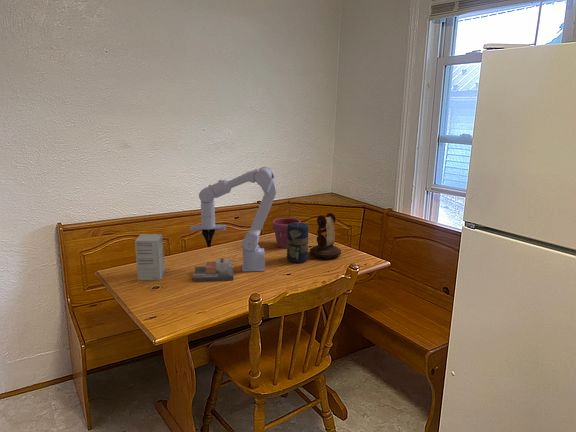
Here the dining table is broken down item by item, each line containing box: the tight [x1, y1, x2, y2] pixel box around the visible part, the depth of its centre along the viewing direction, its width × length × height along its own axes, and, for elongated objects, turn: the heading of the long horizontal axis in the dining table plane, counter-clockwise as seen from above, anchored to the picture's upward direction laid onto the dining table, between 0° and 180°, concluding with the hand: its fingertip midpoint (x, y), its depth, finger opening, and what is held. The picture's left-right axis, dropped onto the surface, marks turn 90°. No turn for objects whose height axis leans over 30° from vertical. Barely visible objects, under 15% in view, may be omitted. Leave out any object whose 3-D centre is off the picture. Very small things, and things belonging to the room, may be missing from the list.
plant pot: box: [271, 217, 302, 249], centre depth 224 cm, size 14×14×13 cm
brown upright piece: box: [309, 212, 342, 261], centre depth 209 cm, size 15×15×20 cm
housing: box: [215, 257, 230, 275], centre depth 184 cm, size 5×4×6 cm
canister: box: [286, 222, 309, 263], centre depth 202 cm, size 10×10×18 cm
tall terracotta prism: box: [205, 261, 216, 274], centre depth 183 cm, size 4×7×4 cm, turn 6°
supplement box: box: [134, 233, 166, 281], centre depth 182 cm, size 10×9×17 cm
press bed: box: [192, 259, 235, 282], centre depth 184 cm, size 16×10×6 cm, turn 95°
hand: (209, 246), depth 192 cm, fingers closed
